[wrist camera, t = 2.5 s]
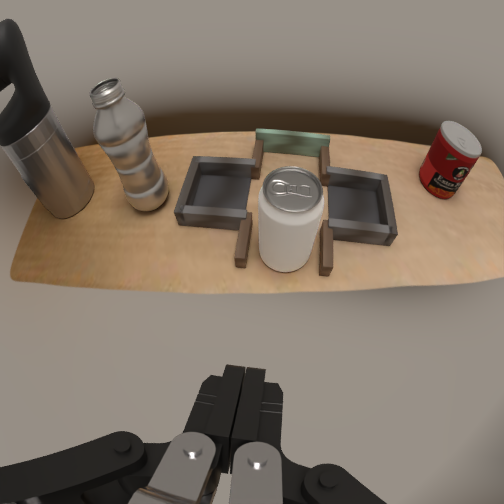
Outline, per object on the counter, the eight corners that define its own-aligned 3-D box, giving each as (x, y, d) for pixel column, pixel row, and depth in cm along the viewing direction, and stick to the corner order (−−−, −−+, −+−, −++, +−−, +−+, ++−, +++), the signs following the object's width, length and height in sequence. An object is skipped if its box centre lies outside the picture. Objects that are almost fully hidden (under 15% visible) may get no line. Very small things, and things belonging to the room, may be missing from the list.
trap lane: (169, 259, 37) (160, 244, 34) (205, 145, 47) (201, 126, 44) (393, 281, 35) (405, 268, 31) (375, 161, 45) (382, 144, 41)
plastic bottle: (172, 179, 44) (137, 65, 26) (171, 214, 41) (125, 93, 23) (134, 186, 44) (87, 80, 26) (129, 220, 40) (69, 111, 23)
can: (262, 226, 39) (262, 160, 29) (311, 231, 39) (327, 167, 28) (255, 270, 36) (253, 211, 26) (308, 276, 36) (327, 220, 25)
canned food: (425, 197, 41) (453, 149, 32) (412, 162, 45) (434, 115, 35) (459, 202, 41) (489, 159, 31) (445, 169, 45) (469, 126, 35)
